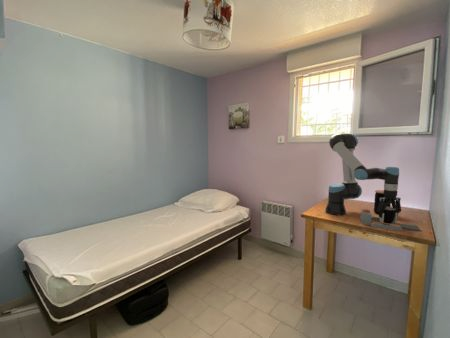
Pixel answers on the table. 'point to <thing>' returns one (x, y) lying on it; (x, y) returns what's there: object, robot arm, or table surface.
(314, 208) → the table surface
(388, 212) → the mug
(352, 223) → the table surface
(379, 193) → the coffee jar
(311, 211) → the table surface
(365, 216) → the housing
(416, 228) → the pad
